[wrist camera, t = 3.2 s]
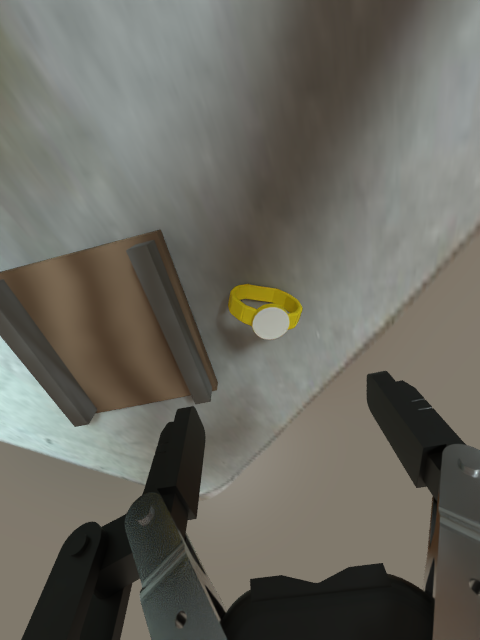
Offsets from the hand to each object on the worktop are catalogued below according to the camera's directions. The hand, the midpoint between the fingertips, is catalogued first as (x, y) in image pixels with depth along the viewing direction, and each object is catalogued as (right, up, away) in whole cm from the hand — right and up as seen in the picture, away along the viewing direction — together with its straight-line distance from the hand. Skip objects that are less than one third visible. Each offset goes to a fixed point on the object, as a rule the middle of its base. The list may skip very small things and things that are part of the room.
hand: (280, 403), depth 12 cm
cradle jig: (-14, +2, +14) cm, 20 cm away
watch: (0, +7, +12) cm, 14 cm away
